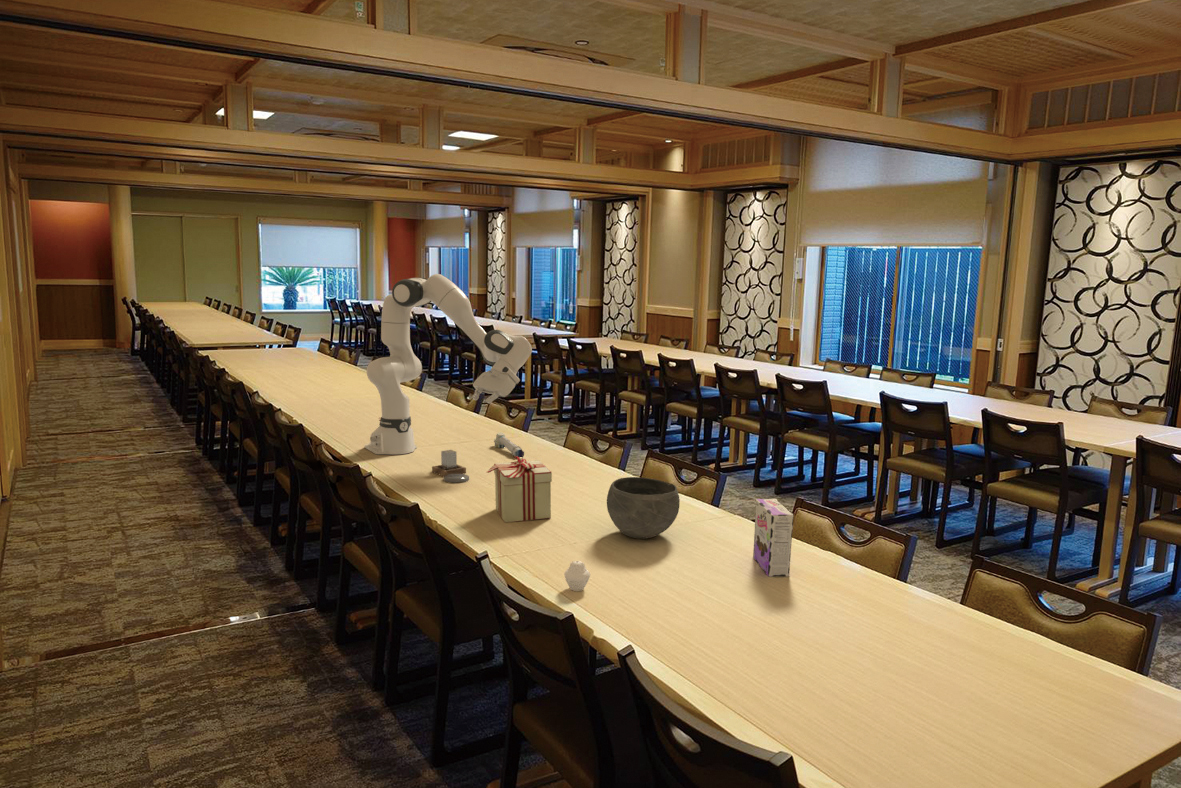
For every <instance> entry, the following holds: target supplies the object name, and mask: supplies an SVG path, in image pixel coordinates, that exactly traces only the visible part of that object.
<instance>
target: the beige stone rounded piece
mask: <svg viewBox="0 0 1181 788" xmlns="http://www.w3.org/2000/svg"><path fill="white" fill-rule="evenodd" d="M590 578H591V574H590V571H589V570H588V569H587V568H586V564H585V563H584V562H583V561H581V560H574V561H572V562H571V563H570V564H569V567H568V568H567V569H566V570H565V571H564V579H565V582H566V583H567V586H568V587H569V589H570V591H573V592H582V591H583V590H585V588H586V586H587V584H588V582H589V580H590Z"/></svg>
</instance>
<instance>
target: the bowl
mask: <svg viewBox="0 0 1181 788" xmlns="http://www.w3.org/2000/svg"><path fill="white" fill-rule="evenodd" d="M609 486H610V487H609V489H608V492H607V496H606V509H607V513H608V515H609V517H610V519H611V521H612V523H613V524H614V526H615V527H616V528H617V529H618V530H619V532H620V533H622V534H623V535H625V536H626V537H629V538H632V539H640V540H641V539H651V538H653V537H657V536H658V535H660V534H662V533H664V532H665V531H667V530H668V529H669V528H670V526H672V524H673V523H674V522H675V520H676V519H677V517H678V515H679V511H680V495H679V490H678V488H677V485H675V484H673V483H670V482H668V481H664V480H662V479H661V480H660V479H656V478H648V477H640V476H628V477H621V478H617V479H616V480H614V481H613V482H612V483H611V484H610V485H609Z"/></svg>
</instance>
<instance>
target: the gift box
mask: <svg viewBox="0 0 1181 788" xmlns="http://www.w3.org/2000/svg"><path fill="white" fill-rule="evenodd" d="M513 459H514V460H515V459H516V460H517V461H511V462H510V461H509V462H501V463H500V462H499V463H494V464H493V465H492V466H491V467H490V468H489V469H488V470H487V471H486V473H491V472H493V473H494V477H495V478H494V479H495V480H494V482H495V483H494V484H495V485H494V487H495V511H497V513H498V515H499V516H500V517H501V519H502V520H503V523H514V522H526V521H534V520H535V521H536V520H537V521H538V520H544V519H546V520H547V519H551V517H552V515H551V514H552V509H551V508H552V507H551V506H552V505H551V503H552V502H551V499H552V498H551V496H552V495H551V491H552V490H551V489H552V488H551V486H552V485H551V484H552V483H551V482H553V480H552V479H553V478H552V476H553V475H552V474H553V473H552V471H551V470H550V469H549V468H548V467H547V466H546V465H545V464H544V463H542V461H540V460H539V459H538V460H527V459H526V458H523V457H522V458H520V457H517V456H513Z"/></svg>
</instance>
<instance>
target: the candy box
mask: <svg viewBox="0 0 1181 788" xmlns="http://www.w3.org/2000/svg"><path fill="white" fill-rule="evenodd" d="M754 514H755V516H754V533H753V535H754V539H753V550H752V551H753V553H752V555H753V556H752V558H753V559H754V560H755V562H756V563H757V564H758V566H759V567H760V568H761V569H762V571H763V572H764V573H765V574H766V576H767V577H775V578H776V577H777V578H778V577H779V578H780V577H782V578H783V577H784V578H787V577H790V572H791V571H790V570H791V569H790V567H791V555H792V540H793V529H794V528H793V527H794V513H792V512H791V511H789V510H788V509H787V508H786V507H785V506H784V505H783V504H782V503H781V502H780V501H779V500H778V499H777V498H756V499H755V513H754Z"/></svg>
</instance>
